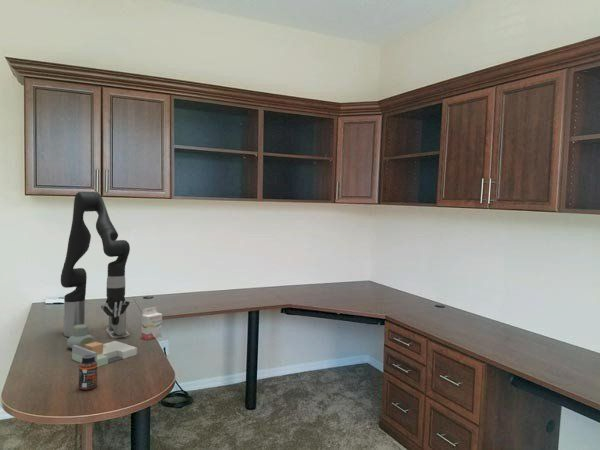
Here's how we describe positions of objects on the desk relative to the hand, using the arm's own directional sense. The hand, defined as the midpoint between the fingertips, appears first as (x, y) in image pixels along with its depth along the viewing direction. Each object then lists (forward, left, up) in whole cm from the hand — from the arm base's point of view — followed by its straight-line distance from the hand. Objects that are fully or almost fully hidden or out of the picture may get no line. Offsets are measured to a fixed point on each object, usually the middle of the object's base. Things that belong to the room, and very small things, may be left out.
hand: (115, 324), depth 186 cm
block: (0, -10, -10) cm, 14 cm away
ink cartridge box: (-7, +25, -13) cm, 29 cm away
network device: (-27, +20, -13) cm, 36 cm away
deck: (0, -5, -13) cm, 14 cm away
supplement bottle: (+23, -26, -13) cm, 37 cm away
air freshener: (-20, -4, -13) cm, 24 cm away
